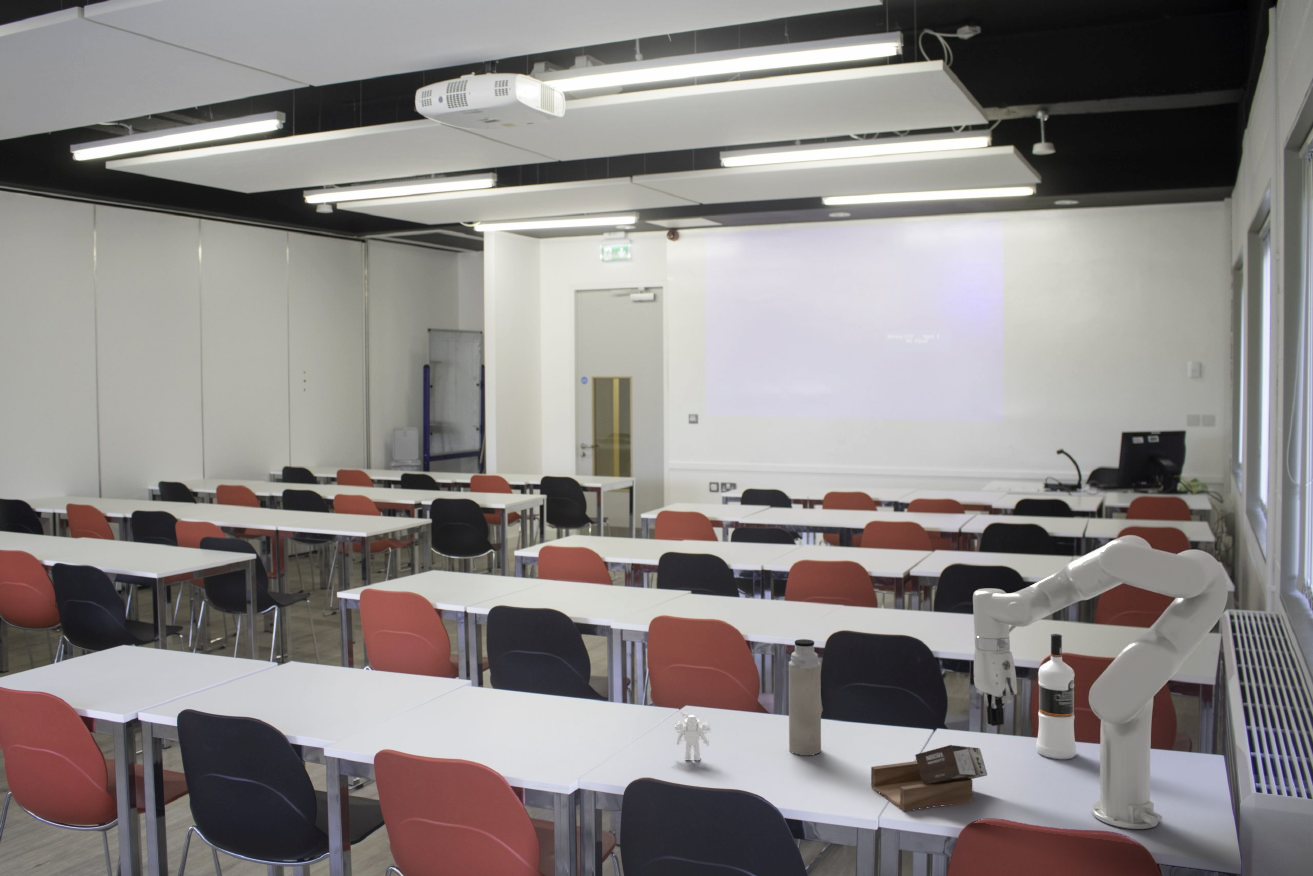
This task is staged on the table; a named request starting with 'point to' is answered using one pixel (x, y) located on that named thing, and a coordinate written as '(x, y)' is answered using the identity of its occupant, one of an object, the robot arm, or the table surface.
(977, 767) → the coffee box
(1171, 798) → the table surface
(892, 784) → the u rest
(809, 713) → the thermos bottle
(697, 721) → the blocky character figurine
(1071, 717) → the vodka
